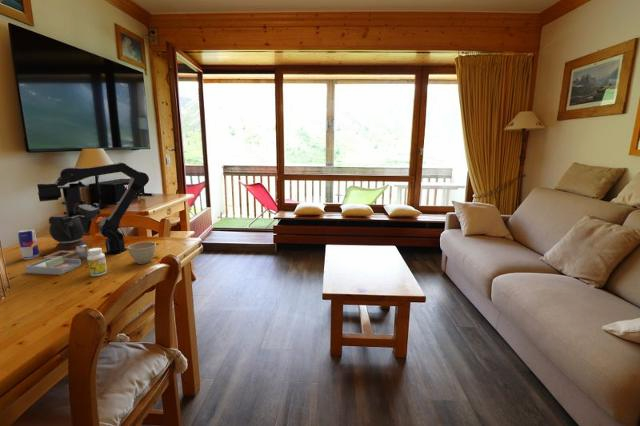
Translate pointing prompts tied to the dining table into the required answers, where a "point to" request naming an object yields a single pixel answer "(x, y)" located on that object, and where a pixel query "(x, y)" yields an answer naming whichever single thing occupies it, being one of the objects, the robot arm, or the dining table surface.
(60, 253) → the socket board
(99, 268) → the supplement bottle
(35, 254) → the energy drink
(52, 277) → the dining table surface
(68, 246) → the dark ball on stand
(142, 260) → the light gray bowl
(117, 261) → the dining table surface
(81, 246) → the peg
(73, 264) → the gray box
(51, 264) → the lid
